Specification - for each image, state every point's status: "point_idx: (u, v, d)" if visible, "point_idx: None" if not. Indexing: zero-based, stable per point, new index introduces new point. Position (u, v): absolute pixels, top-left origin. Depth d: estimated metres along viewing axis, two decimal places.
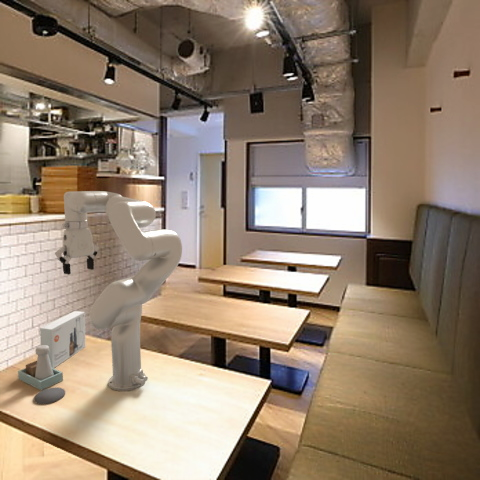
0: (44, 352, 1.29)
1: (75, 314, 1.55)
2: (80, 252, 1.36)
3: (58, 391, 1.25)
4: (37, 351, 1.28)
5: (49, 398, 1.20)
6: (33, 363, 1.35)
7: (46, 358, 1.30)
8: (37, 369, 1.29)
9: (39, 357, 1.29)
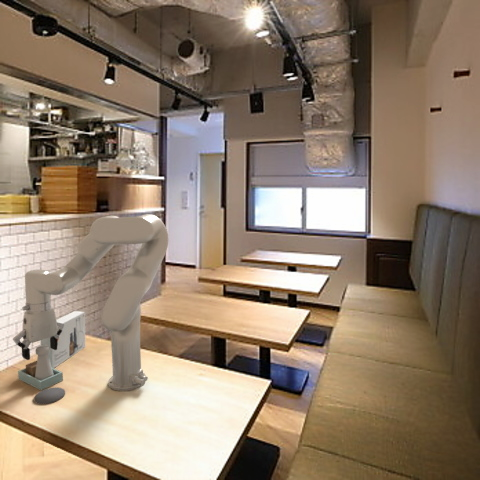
0: (44, 352, 1.29)
1: (75, 314, 1.55)
2: (41, 335, 1.27)
3: (58, 391, 1.25)
4: (37, 351, 1.28)
5: (49, 398, 1.20)
6: (33, 363, 1.35)
7: (46, 358, 1.30)
8: (37, 369, 1.29)
9: (39, 357, 1.29)
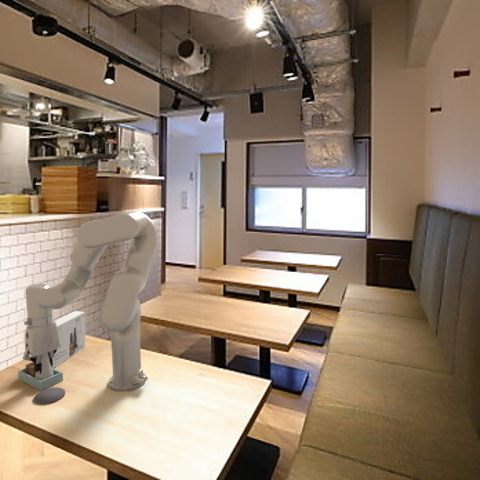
0: None
1: (75, 314, 1.55)
2: (44, 349, 1.28)
3: (58, 391, 1.25)
4: None
5: (49, 398, 1.20)
6: (33, 363, 1.35)
7: (46, 358, 1.30)
8: None
9: None
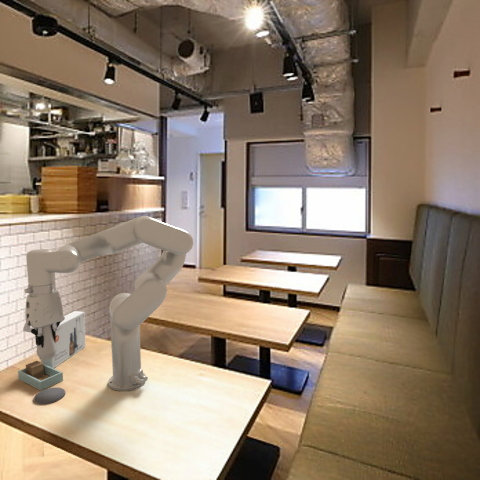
0: None
1: (75, 314, 1.55)
2: (46, 320, 1.17)
3: (58, 391, 1.25)
4: None
5: (49, 398, 1.20)
6: (33, 363, 1.35)
7: (49, 331, 1.19)
8: None
9: None
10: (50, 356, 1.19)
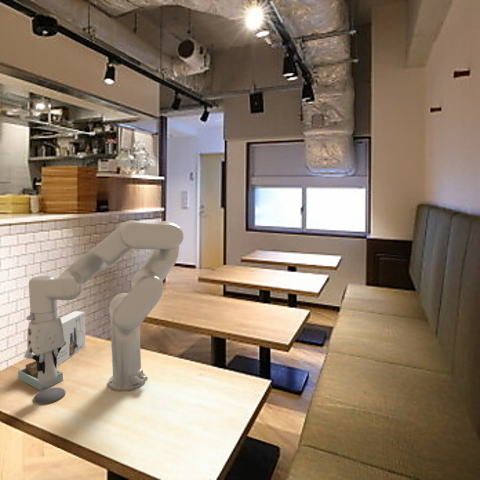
0: None
1: (75, 314, 1.55)
2: (48, 347, 1.18)
3: (58, 391, 1.25)
4: None
5: (49, 398, 1.20)
6: (33, 363, 1.35)
7: (50, 357, 1.20)
8: None
9: None
10: (51, 382, 1.20)
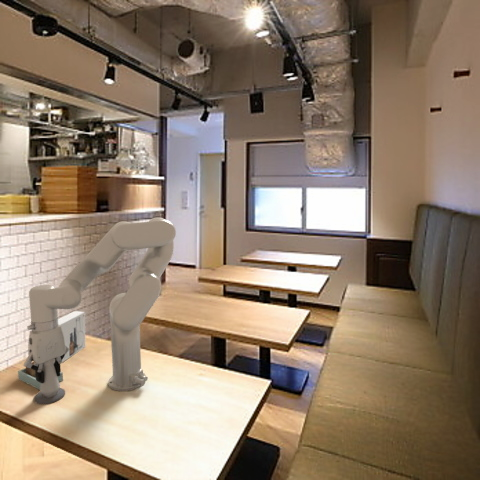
0: (49, 363, 1.20)
1: (75, 314, 1.55)
2: (49, 356, 1.18)
3: (58, 391, 1.25)
4: None
5: (49, 398, 1.20)
6: (33, 363, 1.35)
7: (52, 369, 1.21)
8: None
9: (44, 368, 1.20)
10: (53, 393, 1.21)
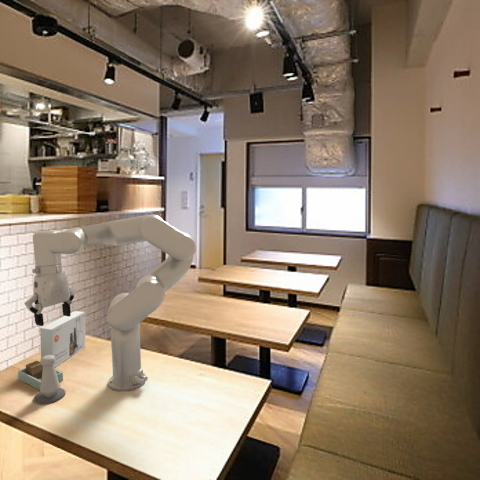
0: (50, 363, 1.20)
1: (75, 314, 1.55)
2: (54, 299, 1.20)
3: (58, 391, 1.25)
4: (42, 362, 1.19)
5: (49, 398, 1.20)
6: (33, 363, 1.35)
7: (52, 369, 1.21)
8: (42, 381, 1.20)
9: (44, 368, 1.20)
10: (53, 393, 1.21)
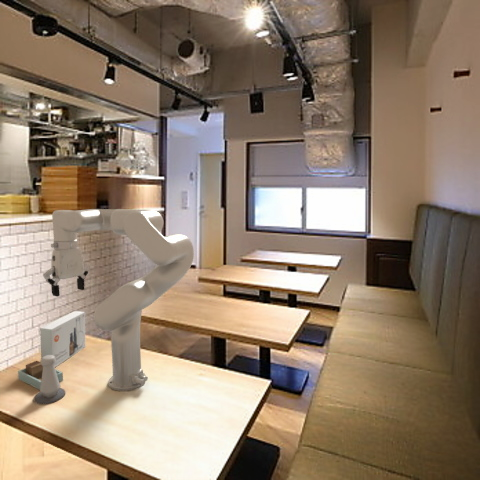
0: (50, 363, 1.20)
1: (75, 314, 1.55)
2: (69, 273, 1.31)
3: (58, 391, 1.25)
4: (42, 362, 1.19)
5: (49, 398, 1.20)
6: (33, 363, 1.35)
7: (52, 369, 1.21)
8: (42, 381, 1.20)
9: (44, 368, 1.20)
10: (53, 393, 1.21)
